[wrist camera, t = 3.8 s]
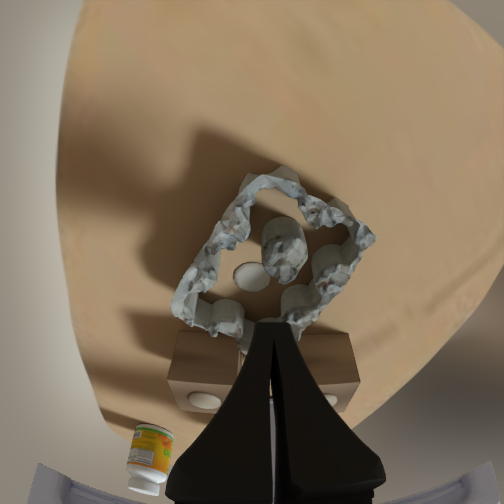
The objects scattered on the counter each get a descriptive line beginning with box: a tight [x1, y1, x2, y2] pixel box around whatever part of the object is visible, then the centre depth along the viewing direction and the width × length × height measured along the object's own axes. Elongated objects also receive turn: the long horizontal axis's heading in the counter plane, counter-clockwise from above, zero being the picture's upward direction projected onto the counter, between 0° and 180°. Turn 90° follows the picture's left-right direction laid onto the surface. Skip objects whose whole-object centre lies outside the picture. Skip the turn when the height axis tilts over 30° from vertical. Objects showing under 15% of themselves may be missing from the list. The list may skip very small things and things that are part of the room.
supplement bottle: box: [126, 424, 174, 496], centre depth 29 cm, size 5×5×10 cm
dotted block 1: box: [167, 331, 242, 414], centre depth 20 cm, size 4×4×5 cm
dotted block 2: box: [297, 334, 360, 413], centre depth 20 cm, size 4×4×5 cm
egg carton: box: [171, 165, 377, 355], centre depth 15 cm, size 11×8×4 cm
